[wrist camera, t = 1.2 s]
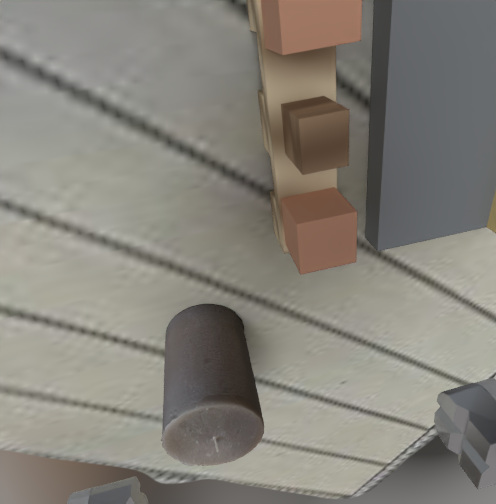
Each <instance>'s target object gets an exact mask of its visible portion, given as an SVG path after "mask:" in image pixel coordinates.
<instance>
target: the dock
mask: <svg viewBox="0 0 496 504" xmlns="http://www.w3.org/2000/svg"><path fill="white" fill-rule="evenodd" d="M484 227H487V228H489V229H490V230H492V231H493V232H495V233H496V0H374V17H373V43H372V70H371V97H370V124H369V150H368V177H367V204H366V230H365V238H366V239H367V240H368V241H369V242H370V243H371V245H372V246H373V247H374V248H375V249H376V250H377V251H381V250H385V249H390V248H394V247H399V246H403V245H408V244H412V243H417V242H421V241H426V240H430V239H435V238H439V237H444V236H448V235H453V234H457V233H462V232H466V231H471V230H475V229H480V228H484Z"/></svg>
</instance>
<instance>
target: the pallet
mask: <svg viewBox="0 0 496 504" xmlns="http://www.w3.org/2000/svg"><path fill="white" fill-rule="evenodd" d="M247 7H248V15H249V23H250V31H254V32H256V33H257V42H258V51H259V60H260V69H261V78H262V86H263V90H258V98H259V106H260V115H261V123H262V131H263V140H264V147H265V149H266V150H267V152H268V153H269V155H270V157H271V166H272V175H273V184H274V190H273V191H270V198H271V206H272V215H273V223H274V231H275V235H276V237H277V239H278V242H279V244H280V246H281V248H282V250H283V252H284V254H285V253H289V250H288V248H287V246H286V242H285V232H284V223H283V213H282V203H281V198H285V197H289V196H294V195H299V194H304V193H308V192H313V191H318V190H323V189H328V188H332V187H335V188H336V189H337V168H340V167H345V166H349V109H347V108H345V107H343V106H342V105H340V104H338V103H336V45H335V46H329V47H324V48H319V49H313V50H308V51H302V52H297V53H291V54H286V55H281V54H279V53H276V52H274V51H271V50H269V49H266V48H265V38H264V29H263V19H262V9H261V0H247Z"/></svg>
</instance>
